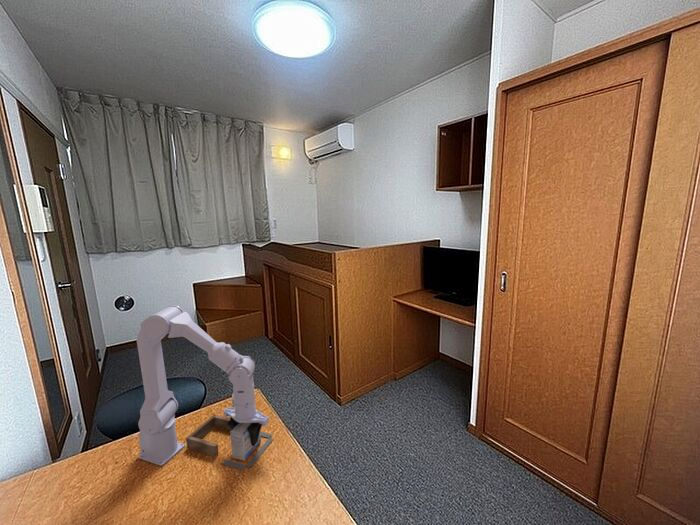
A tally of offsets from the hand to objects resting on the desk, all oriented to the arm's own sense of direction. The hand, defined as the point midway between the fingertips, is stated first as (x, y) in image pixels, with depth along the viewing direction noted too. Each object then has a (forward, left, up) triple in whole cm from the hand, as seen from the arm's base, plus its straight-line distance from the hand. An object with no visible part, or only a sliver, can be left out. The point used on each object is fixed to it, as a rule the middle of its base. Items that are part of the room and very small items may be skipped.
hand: (247, 441), depth 89 cm
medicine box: (0, 0, -3) cm, 3 cm away
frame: (0, 0, -2) cm, 2 cm away
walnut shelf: (-12, 0, -2) cm, 13 cm away
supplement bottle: (-13, +13, -3) cm, 18 cm away
